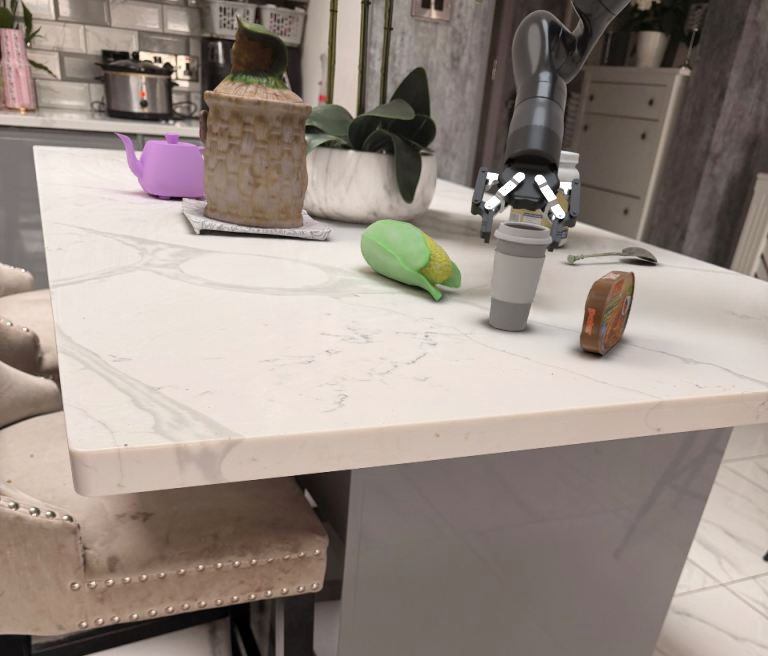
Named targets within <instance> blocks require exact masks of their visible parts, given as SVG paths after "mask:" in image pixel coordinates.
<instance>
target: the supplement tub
mask: <svg viewBox="0 0 768 656" xmlns="http://www.w3.org/2000/svg"><path fill="white" fill-rule="evenodd" d="M579 159H580V153H577V152H573V151H568V150H561V155H560V162H559V170H558V178H559V180H560V182H569V183H572V180H573V179H575V178H577V179H579V180H580V171H579V170H578V168H576V166H577V165H578V164H579ZM556 198H557V200H558V204H559V205H560V207H561V208H562V210H563V211H564V212H567V208H568V201H565V199H564V198H563V194H562V193H560V192H558V194H557V195H556ZM509 210H510V211H509V216H508V221H507V222H523V223H531V224H536V225H541V226H544V227H547V228H549V229H550V230H551V226H552V225H551V224H550V222H549V221H548V219H545V218H544V217H543V215H542V214H541V212H540V211H539V209H538V210H536V211H529V210H526V209H513V207H512V206H510V209H509ZM569 229H570V228H569V227H568V226H566V227H563V229H562V237H561V241H560V245H559V247H562V246H563V245H564V244H565V243H566V242H567V239H568V235H569ZM547 248H548V245H547Z"/></svg>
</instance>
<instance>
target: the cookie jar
mask: <svg viewBox="0 0 768 656" xmlns="http://www.w3.org/2000/svg"><path fill="white" fill-rule="evenodd" d="M235 18H236V22H237V31H236V32H235V35H234V37H235V41H234V43H233V45H232V46H231V50H232V55H231V56H232V61H233V64H232V67H231V70H230V72H229V74H228V75H227V76H226V77H225V78H224V79H223V80H222V81H220V83H219V84H217V86H216V87H215V88H214V89H213V90H205V91H204V92H203V100H204V102H205V104H206V105H207V107H208V110H207V109H203V110H200V113H199V117H198V119H199V120H198V123H199V124H198V125H199V129H198V137H199V141H200V142H201V143H202V144H203V145H204V146H203V147H204V151H203V155H202V158H203V160H204V166H203V189H204V193H205V195H204V196H205V198H206V201H204V200H203V201H201V200H198V199H196V200H193V199H187V198H185V197H182V202H181V208H182V211H183V212H182V213H183V215H184V216H185V217H186V218H187V220H188V222H189V223H190V224H191V226H192V228H193V230H194V232H195V234H196V235H199V234H200V233H201V232H200V231H201V230H211V231H212V230H213V231H221V232H222V231H223V232H233V233H247V234H248V233H249V234H264V235H265V234H266V235H276V236H286V237H297V238H301V239H307V240H320V241H325V240H326V239H327V237H328V236H329V235H330V233H331V228H330V227H327V226H326V225H323V224H322V223H321V222H320V221H317V220H315V219H313V218H312V217H311V216H310V215H309V214H308V212H307V210H305V209H304V206H305V205H304V204H305V203H304V202H305V200H306V199H305V198H306V193H307V189H308V186H309V173H308V168H307V155H308V154H307V153H308V146H307V140H306V125H307V120H308V118H309V117H310V116H311V114H312V112H313V106H312V105H311V104H310V103H307V102H306V103H305V102H304V100H303V99H302V97H300V95H298V94H296V93H295V92H293V91H292V90H291V89H290V88H289V86H288V85H287V84H286V82H285V81H284V80H283V77H284V75H285V72H286V71H287V69H288V68H287V67H288V64H289V52H288V47H287V45H286V43H285V42H284V41H283V40H282V39H281V38H280V36H279V35H278V34H276V33H275V32H273V31H271V30H270V29H269V28H268V27H266V26H264V25H263V24H260V23H255V22H254V23H253V22H246V21H244V20H243V19H242V17H241V15H240V14H236V15H235Z"/></svg>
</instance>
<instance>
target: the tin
mask: <svg viewBox="0 0 768 656" xmlns="http://www.w3.org/2000/svg"><path fill="white" fill-rule="evenodd" d="M635 287H636V276H635V272H634V271H623V270H610V271H609V272H607V273H606V274H605V275H603V276H602V277H600V278H598V279H596V280H595V281H594V282H593V284H592V285H591V287H590V289H589V291H588V294H587V296H586V300H585V305H584V315H583V319H582V326H581V332H580V333H579V334H580V335H579V345H580V348H581V350H583V351H586V352H590V353H596V354H600V355H601V356H604V355H606V353H607V352H608V351H609V350H611V348H613V347H614V346H615V345H616V344H617V343H618V342H619V341H620V340H621V339H622V336H623V335H624V333H625V330H626V327H627V325H628V321H629V318H630V314H631V309H632V305H633V300H634V293H635Z"/></svg>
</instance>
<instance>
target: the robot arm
mask: <svg viewBox="0 0 768 656" xmlns="http://www.w3.org/2000/svg"><path fill="white" fill-rule="evenodd" d="M631 2H632V0H570V4H571V6H572V8H573V9H574V11H575V13H576V15H577V16H578V18H579V20H578V23H577V25H576V27H575V29H574V30H573V31H572V32H571V31H570V29H568V28H567V26H566V25H564V24H563V22H562V21H560V20H559V19H558V18H557V17H556V16H555V14H553V13H552V12H550V11H548V10H545V9H538V10H535V11H533V12H531V13H529V14H527V16H525V17H524V18H523V19H522V20H521V22H520V23H519V25H518V27H517V28H516V30H515V33H514V36H513V39H512V45H511V64H512V72H513V80H514V85H515V90H516V95H515V101H514V107H513V115H512V116H511V117H512V118H511V120H510V123H509V127H508V132H507V137H506V146H505V151H504V158H503V163H502V169H501V171H500V172H499V173H495V172H489V168H488V167H487V166H480V167H479V169H478V174H477V177H476V182H475V186H474V189H473V192H472V193H473V194H472V197H471V205H470V214H471V215H473V216H478V215H479V216H480V217H481V226H480V232H479V235H480V239H483V240H484V241H483V243H484V244H490V241H491V235H492V234H491V233H492V228H493V221H494V218H495V217H496V216H497V215H498V214H502V213H504V211H506V210H507V209H508V208H509V207H511V206H512V207H513V209H526V210H529V211H536V210H538V209H539V211H540V212H541V214H542V215H543V217H544V218H545V219H548V221H549V222H550V224H551V225H552V226H551V230H550V236H551V237H552V243H550V244H549V245H548V247H547V252H549V253H553V252H554V249H558V248H559V247H560V246H559V245H560V241H561V237H562V229H563V227H566V226H568V227H569V229H573V228H575V226H576V224H577V220H578V218H579V215H580V208H581V207H580V206H581V192H582V191H581V190H582V189H581V187H582V181H581V179H580V178H579V179H577V178H575V179H573V180H572V183H569V182H560V180H559V178H558V170H559V162H560V155H561V151H562V147H563V139H564V133H565V132H564V131H565V123H564V122H565V121H564V120H565V112H566V105H567V97H568V88H567V84H569V83H570V82H571V81H572V80H574V79H575V77H576V76H577V75H578V74H579V72H580V71H581V69H582V68H583V66H584V65H585V63H586V61H587V60H588V57H589V55H590V54H591V52H592V51H593V49H594V47H595V45H597V43H598V41H599V39H601V36H602V35H603V33H604V32H605V31H606V29H607V27H608V26H609V24H610V23H611V22H612V21H613V20H614V19H615V18H616V17H617V16H618V15H619V14H620V13H621V12H622V11H623V10H624V9H625V8H626V7H627V6H628V5H629V4H630V3H631ZM493 185H496V187H497V189H498V190H497V191H495V194H494V196H492V197H491V198H490V199H489V200H487V201H484V200H483V198H484V195H485V192H488V191H489V190H490V189H491V188H492V186H493ZM558 192H560V193H562V194H563V198H564V199H565V201H568V208H567V212H564V211H563V210H562V208H561V207H560V205H559V204H558V200H557V198H556V195H557V194H558Z"/></svg>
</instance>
